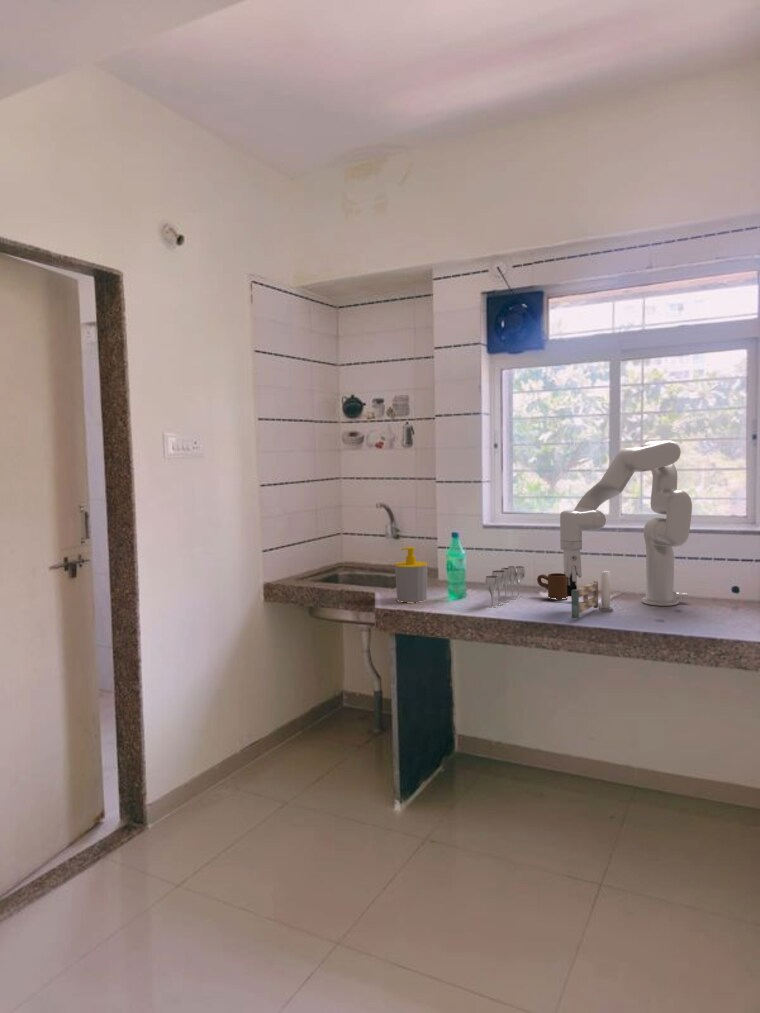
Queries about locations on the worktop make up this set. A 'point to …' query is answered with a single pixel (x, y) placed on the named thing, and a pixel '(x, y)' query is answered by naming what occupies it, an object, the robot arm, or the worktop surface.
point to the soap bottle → (411, 578)
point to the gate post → (605, 592)
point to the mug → (554, 585)
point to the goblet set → (504, 581)
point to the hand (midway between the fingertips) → (571, 595)
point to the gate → (584, 598)
